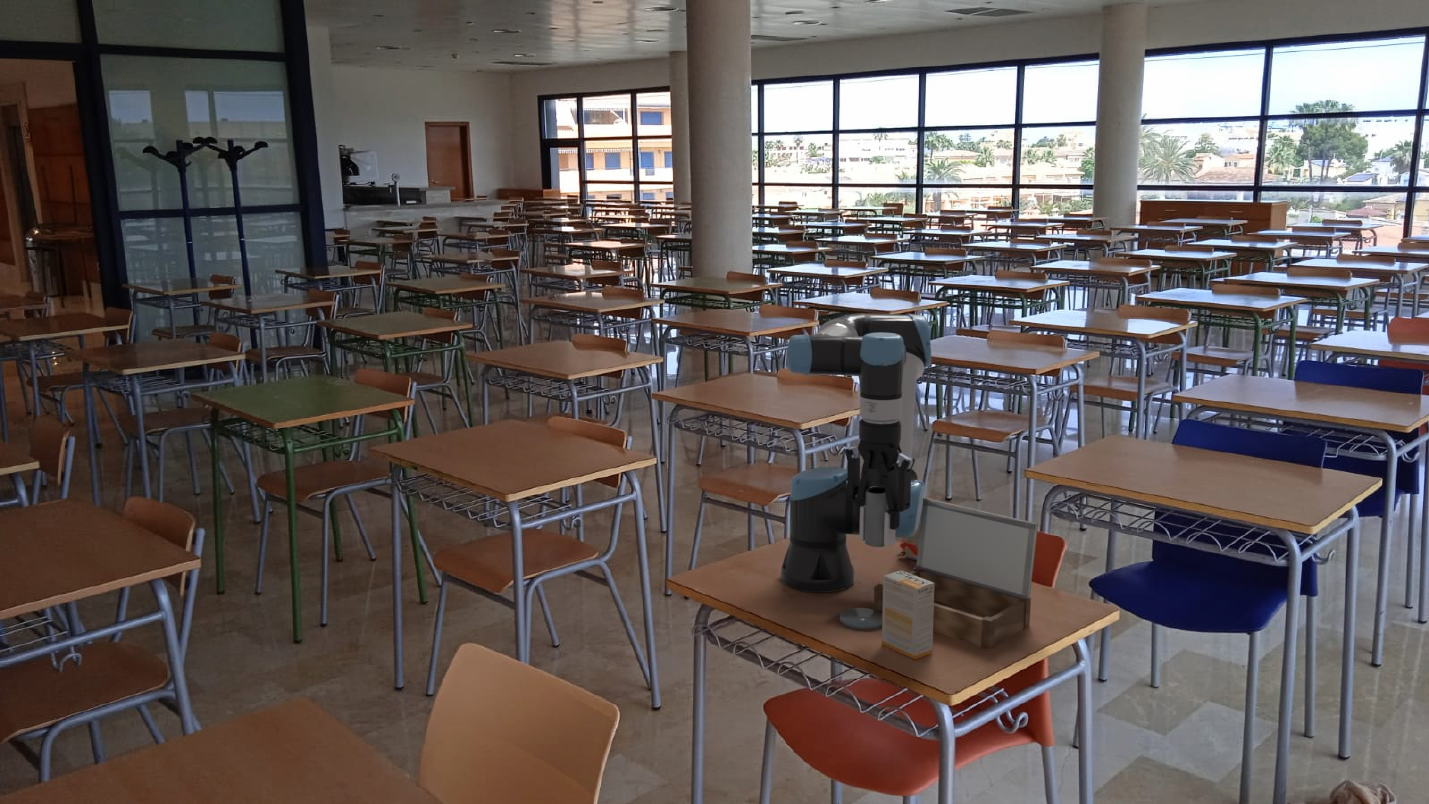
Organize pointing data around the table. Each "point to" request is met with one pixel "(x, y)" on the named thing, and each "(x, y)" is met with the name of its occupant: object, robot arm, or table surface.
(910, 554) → the figurine
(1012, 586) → the lid
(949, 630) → the cold frame
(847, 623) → the saucer
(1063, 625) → the table surface
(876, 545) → the grey cylindrical cup
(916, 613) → the supplement box
